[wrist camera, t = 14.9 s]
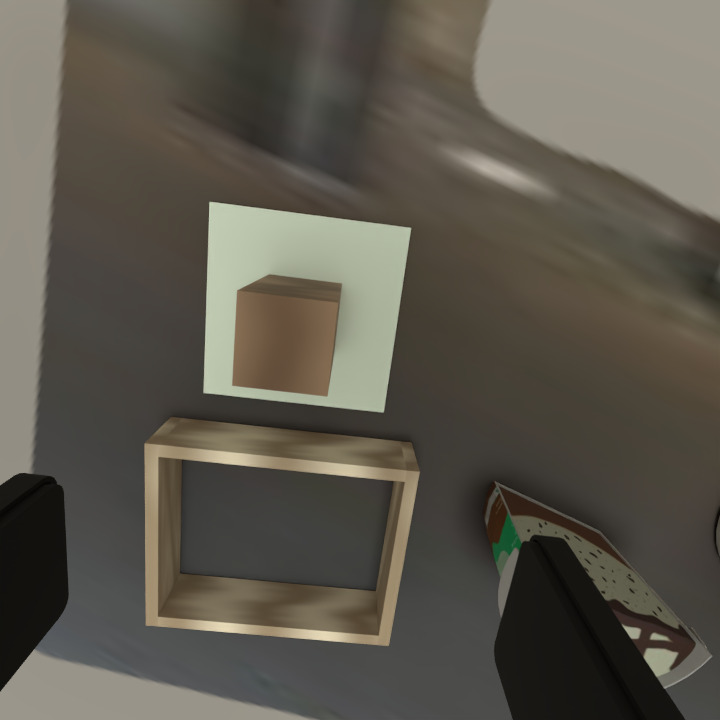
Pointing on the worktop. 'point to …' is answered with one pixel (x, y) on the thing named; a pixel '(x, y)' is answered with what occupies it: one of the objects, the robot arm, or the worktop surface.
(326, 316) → the walnut block
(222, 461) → the access box
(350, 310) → the mat
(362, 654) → the worktop surface
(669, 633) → the food container
